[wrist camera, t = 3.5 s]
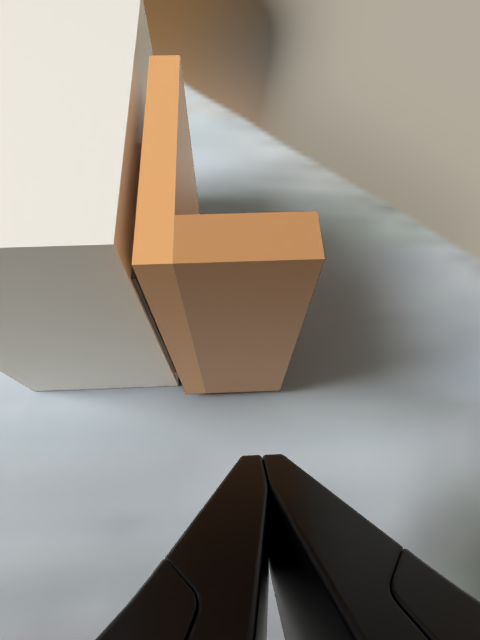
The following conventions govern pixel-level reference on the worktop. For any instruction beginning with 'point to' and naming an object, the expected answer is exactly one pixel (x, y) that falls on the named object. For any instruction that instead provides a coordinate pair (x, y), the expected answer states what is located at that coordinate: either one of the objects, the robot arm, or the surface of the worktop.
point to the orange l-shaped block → (215, 261)
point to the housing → (74, 197)
